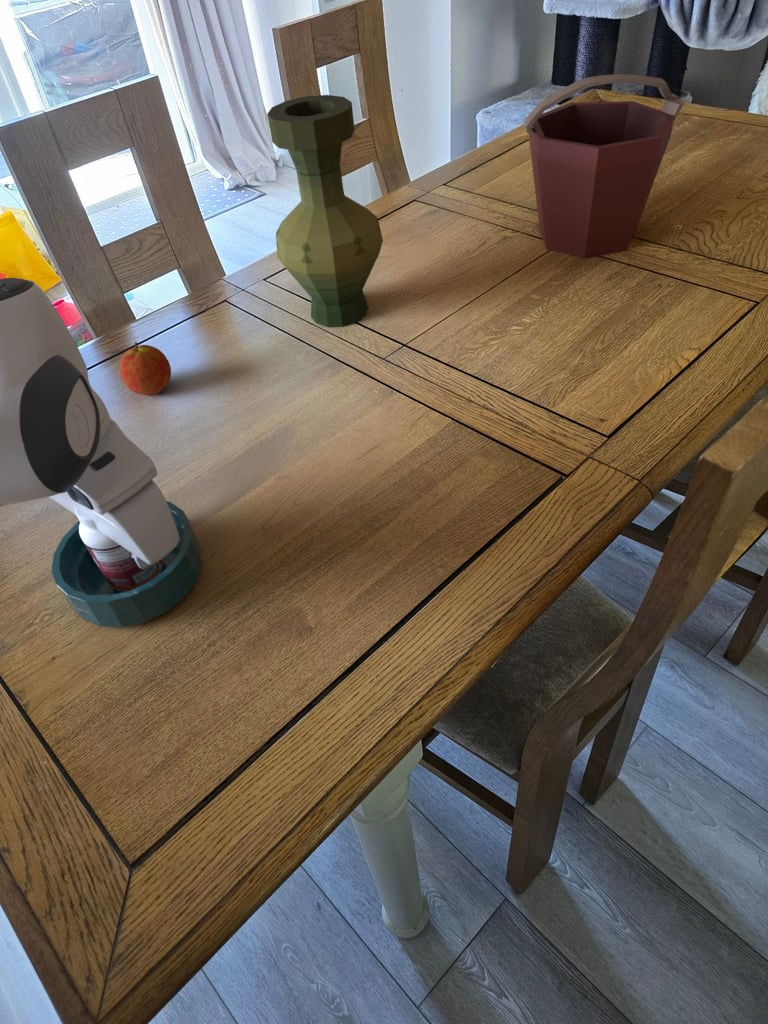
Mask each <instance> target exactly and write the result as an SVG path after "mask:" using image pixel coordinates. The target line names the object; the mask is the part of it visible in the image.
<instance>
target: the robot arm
mask: <svg viewBox="0 0 768 1024" xmlns="http://www.w3.org/2000/svg"><path fill="white" fill-rule="evenodd" d="M157 476H158V470H157V468H156V465H155V463H154V461H153V460H152V458H150V456H149V455H147V454H146V453H145V452H144V451H143V450H142V449H140V448H139V447H138V446H137V444H135V443H134V442H133V441H132V440H131V439H130V438H128V437H127V435H126V434H125V433H124V432H123V430H122V429H121V428H120V426H119V425H118V423H117V422H116V421H115V420H114V419H112V417H111V416H110V414H109V411H108V409H107V407H106V405H105V402H104V401H103V399H102V398H101V397H100V396H99V394H98V393H97V392H96V391H95V390H94V388H92V386H91V384H90V381H89V372H88V368H87V364H86V362H85V360H84V358H83V356H82V353H81V351H80V350H79V347H78V345H77V343H76V341H75V339H74V337H73V336H72V334H71V332H70V330H69V328H68V326H67V325H66V323H65V321H64V320H63V318H62V316H61V315H60V313H59V311H58V310H57V308H56V307H55V306H54V303H52V301H51V300H50V298H49V297H48V296H47V294H46V293H45V292H44V290H43V289H42V288H41V286H39V284H38V283H36V282H35V281H32V280H29V279H24V278H18V277H5V278H0V507H3V506H8V505H14V504H18V503H19V504H20V503H25V502H31V501H34V500H40V499H44V498H50V499H51V500H53V501H54V502H55V503H57V504H58V505H60V506H61V507H63V508H64V509H66V510H67V511H69V512H70V513H72V514H73V515H75V516H76V517H77V515H76V513H75V508H77V509H78V510H80V511H81V512H83V513H84V514H86V515H87V516H89V517H90V518H92V519H93V521H94V523H95V524H96V526H97V530H99V531H100V532H101V533H103V534H104V535H106V536H107V537H109V538H110V539H112V540H113V541H115V542H116V543H118V544H119V545H121V546H122V547H124V548H125V549H127V550H128V551H130V553H129V554H128V555H129V556H130V558H131V559H132V562H133V563H134V564H136V565H137V566H138V567H140V568H141V569H146V568H147V567H148V566H149V565H154V564H156V563H157V562H159V561H160V560H161V559H163V558H164V557H165V556H167V555H168V554H169V553H170V552H171V551H172V550H173V549H174V548H175V547H176V546H177V545H178V542H179V533H178V530H177V527H176V524H175V522H174V519H173V516H172V514H171V511H170V509H169V507H168V504H167V502H166V501H167V500H166V497H165V496H164V494H163V492H162V490H161V489H160V487H159V486H158V485H157V483H156V482H155V481H154V480H153V479H154V478H155V477H157Z"/></svg>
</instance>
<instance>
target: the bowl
mask: <svg viewBox="0 0 768 1024" xmlns="http://www.w3.org/2000/svg"><path fill="white" fill-rule="evenodd" d="M166 502H167V504H168V507H169V509H170V511H171V514H172V516H173V519H174V522H175V524H176V527H177V530H178V533H179V542H178V545H177V546H176V547H175V548H174V549H173V550H172V551H171V552H170V553H169V554H168V555H167V556H165V557H164V558H163V559H162V561H163V567H162V570H161V573H160V574H159V575H157V576H156V577H155V578H154V579H152V580H151V581H150V582H147V583H145V584H143V585H141V586H139V587H137V588H135V589H133V590H131V591H127V592H120V591H117V590H115V589H114V588H112V587H111V586H110V585H109V583H108V582H107V580H106V579H105V577H104V575H103V574H102V572H101V570H100V569H99V567H98V565H97V564H96V562H95V560H94V559H93V557H92V556H91V554H90V552H89V551H88V549H87V547H86V546H85V544H84V542H83V541H82V539H81V537H80V534H79V525H80V521H79V520H78V521H77V522H76V523H74V525H73V526H72V527H71V528H70V529H69V530H68V531H67V532H66V534H64V536H63V537H62V538H61V540H60V541H59V543H58V545H57V547H56V548H55V551H54V552H53V556H52V562H51V574H52V577H53V579H54V582H55V585H56V587H57V588H58V590H59V591H60V592H61V594H62V596H63V597H64V599H65V600H66V602H67V603H68V604H69V606H70V608H71V609H72V610H73V611H74V612H75V613H76V614H77V615H78V616H79V617H80V618H81V619H82V620H83V621H85V622H87V623H90V624H93V625H96V626H99V627H102V628H127V627H131V626H134V625H139V624H143V623H146V622H148V621H151V620H153V619H155V618H157V617H160V616H161V615H163V614H165V613H166V612H169V610H171V609H172V608H173V607H175V606H176V605H177V604H179V603H180V602H181V601H182V600H183V599H184V598H185V597H187V595H188V593H189V592H190V591H191V589H192V588H193V587H194V586H195V584H196V583H197V581H198V579H199V575H200V573H201V570H202V567H203V550H202V547H201V545H200V543H199V542H200V541H199V540H198V538H197V535H196V532H195V530H194V528H193V526H192V523H191V521H190V519H189V518H188V516H187V514H186V513H185V511H184V510H183V509H182V508H180V507H179V506H177V505H176V504H174V503H173V502H172V501H168V500H166Z"/></svg>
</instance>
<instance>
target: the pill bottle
mask: <svg viewBox="0 0 768 1024" xmlns="http://www.w3.org/2000/svg"><path fill="white" fill-rule="evenodd" d="M75 513H76V515H77V516H76V515H75V516H76V518H77V519H78V522H79V521H80V525H79V534H80V537H81V539H82V541H83V542H84V544H85V546H86V547H87V549H88V551H89V552H90V554H91V556H92V557H93V559H94V560H95V562H96V564H97V565H98V567H99V569H100V570H101V572H102V574H103V575H104V577H105V579H106V580H107V582H108V583H109V585H110V586H111V587H112V588H114V589H115V590H117V591H120V592H127V591H131V590H133V589H135V588H137V587H139V586H141V585H143V584H145V583H147V582H150V581H151V580H152V579H154V578H155V577H156V576H157V575H159V574H160V573H161V570H162V567H163V561H162V559H161V560H160V561H159V562H157V563H156V564H154V565H149V566H148V567H147V568H146V569H141V568H140V567H138V566H137V565H136V564H134V563H133V562H132V559H131V558H130V556H129V555H128V554H129V553H130V551H128V550H127V549H125V548H124V547H122V546H121V545H119V544H118V543H116V542H115V541H113V540H112V539H110V538H109V537H107V536H106V535H104V534H103V533H101V532H100V531H99V530H97V526H96V524H95V523H94V521H93V519H92V518H90V517H89V516H87V515H86V514H84V513H83V512H81V511H80V510H78V509H77V508H75Z"/></svg>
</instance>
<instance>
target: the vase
mask: <svg viewBox="0 0 768 1024" xmlns="http://www.w3.org/2000/svg"><path fill="white" fill-rule="evenodd" d="M266 116H267V122H268V127H269V132H270V138H271V142H272V143H273V144H274V145H275V146H276V148H278V149H281V150H287V151H288V154H289V156H290V159H291V161H292V163H293V166H294V169H295V170H296V177H297V183H298V188H299V195H300V202H299V203H298V204H296V206H295V207H294V208H293V209H292V210H291V211H290V212H289V213H288V214H287V216H285V217H284V219H283V220H282V221H281V222H280V224H279V226H278V228H277V230H276V232H275V240H276V241H275V242H276V256H277V259H278V260H279V262H280V263H281V264H282V265H283V267H284V268H285V269H286V270H287V271H288V273H289V274H290V275H291V276H292V277H293V278H294V280H295V281H296V282H297V283H298V284H299V285H300V287H301V288H302V289H303V290H304V291H305V292H306V294H308V295H309V297H310V298H311V299H310V300H311V302H310V317H311V319H312V320H313V321H314V323H315V324H317V325H320V326H323V327H326V328H344V327H348V326H350V325H353V324H354V325H355V324H356V323H358V322H360V321H361V320H363V319H364V318H366V316H367V315H368V311H369V304H368V301H367V298H366V295H365V292H364V287H365V285H366V283H367V281H368V280H369V277H370V274H371V272H372V270H373V269H374V266H375V265H376V264H375V263H376V261H377V259H378V257H379V255H380V253H381V249H382V246H383V242H384V239H383V235H382V234H383V233H382V231H381V226H380V222H379V218H378V216H376V215H375V213H373V212H372V211H371V210H370V209H369V208H367V207H365V206H364V205H362V204H360V203H359V202H357V201H356V200H353V199H352V198H350V197H348V196H347V195H345V191H344V190H345V189H344V183H343V176H342V168H341V158H342V150H343V149H342V147H343V143H344V142H346V141H347V140H350V139H351V138H352V137H353V135H354V133H355V130H356V127H355V120H354V113H353V101H351V100H350V99H349V98H346V97H345V96H339V95H331V94H320V95H306V96H302V97H297V98H292V99H288V100H285V101H283V102H281V103H277V104H276V105H274V106H271V108H270V109H269V111H268V112H267V113H266Z"/></svg>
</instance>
